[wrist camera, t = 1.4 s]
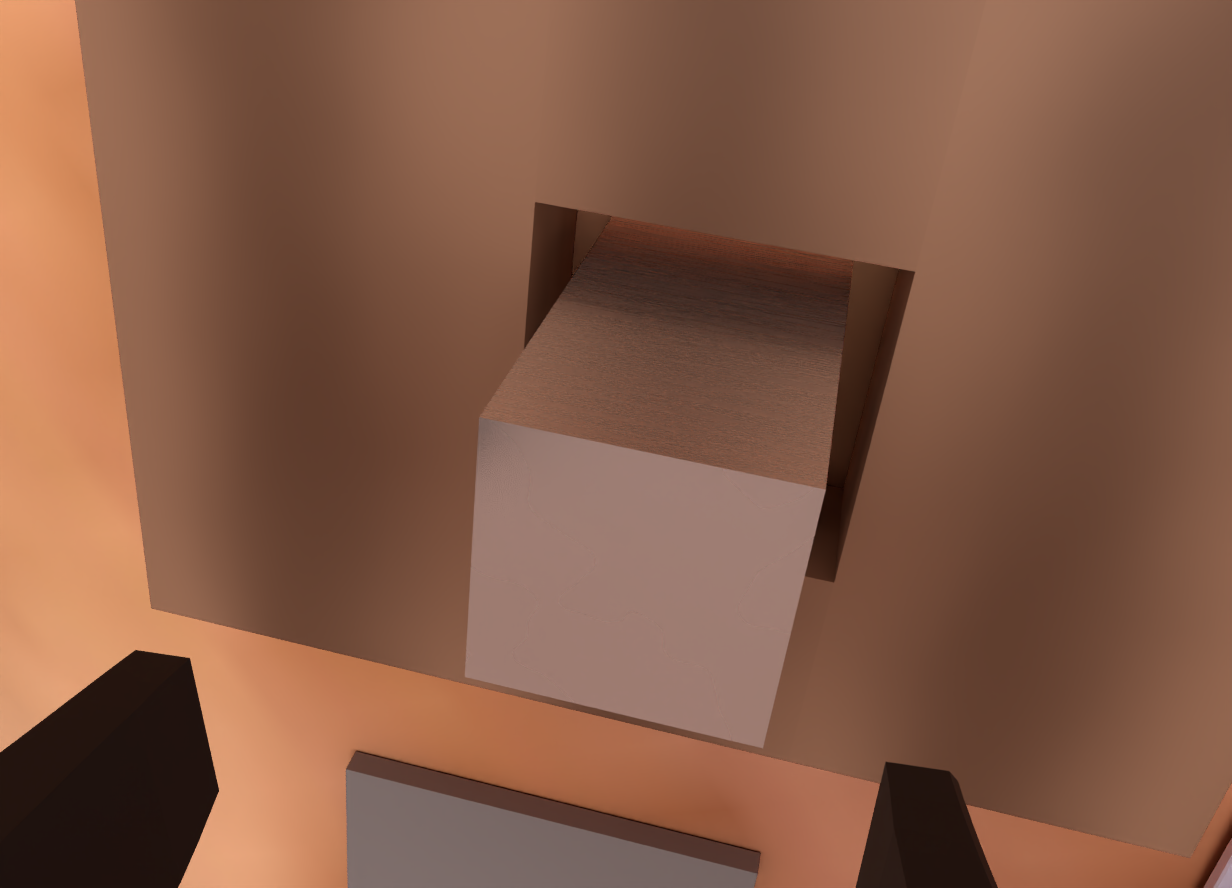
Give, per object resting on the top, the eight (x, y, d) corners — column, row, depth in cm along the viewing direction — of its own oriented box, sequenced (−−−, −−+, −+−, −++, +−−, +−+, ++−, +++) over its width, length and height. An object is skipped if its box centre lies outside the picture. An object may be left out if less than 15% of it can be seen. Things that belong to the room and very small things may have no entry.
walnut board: (1517, 4, 16) (1630, 49, 14) (1160, 739, 23) (1190, 858, 21) (169, -191, 19) (52, -184, 16) (226, 525, 26) (151, 607, 23)
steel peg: (856, 240, 20) (825, 489, 13) (809, 442, 22) (762, 747, 15) (624, 198, 20) (479, 416, 13) (601, 400, 22) (464, 677, 16)
